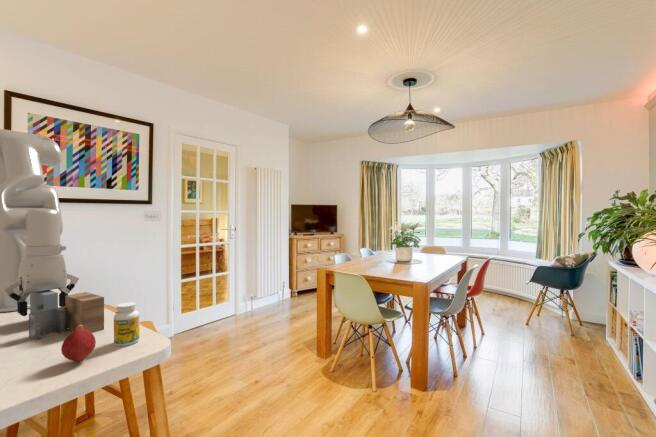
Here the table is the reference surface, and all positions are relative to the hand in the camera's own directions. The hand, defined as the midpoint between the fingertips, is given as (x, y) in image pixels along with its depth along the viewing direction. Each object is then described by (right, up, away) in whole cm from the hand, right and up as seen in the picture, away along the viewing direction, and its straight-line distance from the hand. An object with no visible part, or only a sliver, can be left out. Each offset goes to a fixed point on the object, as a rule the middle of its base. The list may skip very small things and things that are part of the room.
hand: (43, 310), depth 93 cm
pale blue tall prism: (0, -3, 0) cm, 3 cm away
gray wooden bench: (+10, -4, -8) cm, 13 cm away
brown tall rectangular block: (+15, -4, -5) cm, 17 cm away
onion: (+29, -5, -24) cm, 38 cm away
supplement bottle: (+32, -4, -13) cm, 35 cm away
